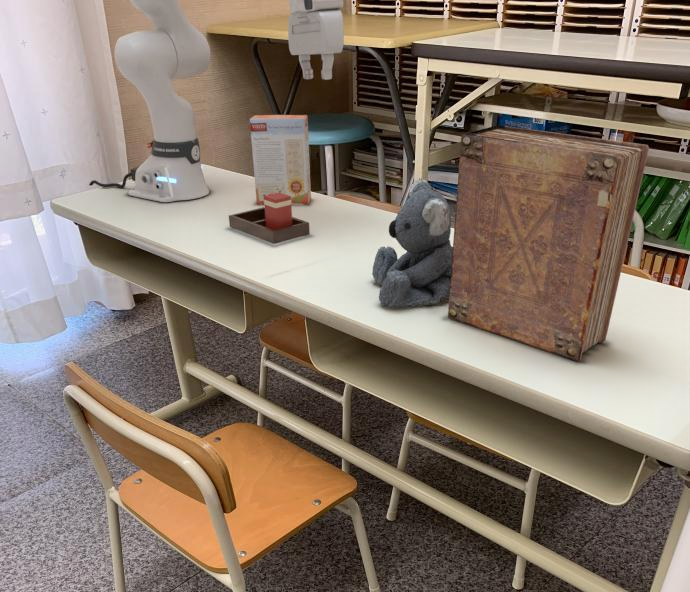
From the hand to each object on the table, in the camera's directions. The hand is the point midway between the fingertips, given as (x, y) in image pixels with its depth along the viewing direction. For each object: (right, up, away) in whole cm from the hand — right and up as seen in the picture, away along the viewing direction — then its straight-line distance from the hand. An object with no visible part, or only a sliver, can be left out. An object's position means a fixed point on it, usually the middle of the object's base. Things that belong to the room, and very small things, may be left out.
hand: (317, 79), depth 147 cm
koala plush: (+21, -49, -15) cm, 55 cm away
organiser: (-12, -27, +16) cm, 34 cm away
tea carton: (-9, -29, +13) cm, 33 cm away
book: (+36, -59, -29) cm, 75 cm away
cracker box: (-10, -12, +38) cm, 41 cm away
